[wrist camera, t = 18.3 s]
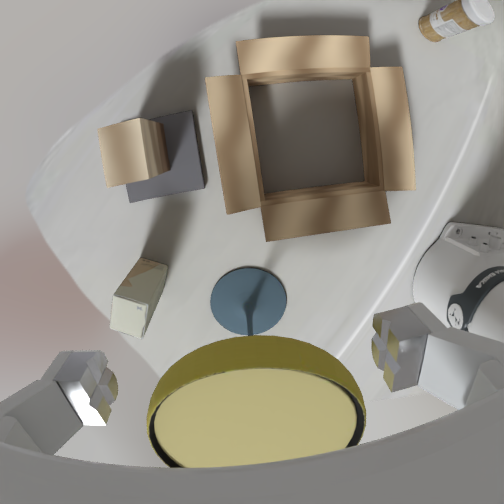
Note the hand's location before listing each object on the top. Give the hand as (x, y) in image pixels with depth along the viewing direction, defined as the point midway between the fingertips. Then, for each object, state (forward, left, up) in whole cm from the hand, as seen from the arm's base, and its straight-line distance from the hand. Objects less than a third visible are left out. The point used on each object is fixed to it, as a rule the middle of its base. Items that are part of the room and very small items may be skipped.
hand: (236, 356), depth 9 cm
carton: (-10, -6, -33) cm, 35 cm away
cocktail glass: (+1, +16, -33) cm, 37 cm away
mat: (+9, -6, -33) cm, 35 cm away
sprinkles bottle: (-32, -22, -33) cm, 51 cm away
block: (+10, -7, -32) cm, 34 cm away
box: (+14, +10, -33) cm, 38 cm away
